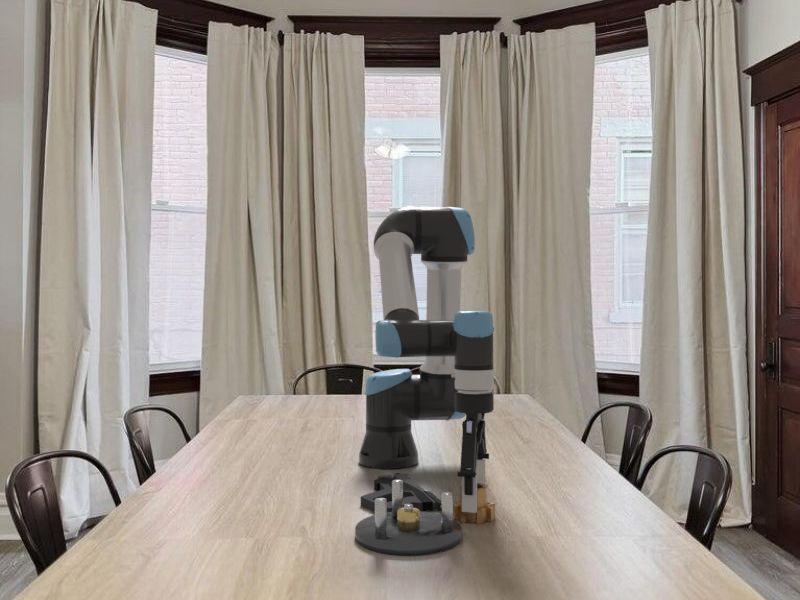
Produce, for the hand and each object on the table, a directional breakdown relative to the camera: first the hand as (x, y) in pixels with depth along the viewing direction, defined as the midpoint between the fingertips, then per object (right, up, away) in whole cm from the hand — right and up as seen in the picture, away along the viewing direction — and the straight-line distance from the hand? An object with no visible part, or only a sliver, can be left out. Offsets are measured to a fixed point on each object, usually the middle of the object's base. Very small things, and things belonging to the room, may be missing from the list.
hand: (474, 501), depth 136 cm
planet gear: (0, -3, 0) cm, 3 cm away
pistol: (-16, -4, +14) cm, 22 cm away
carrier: (-13, -3, -10) cm, 17 cm away
